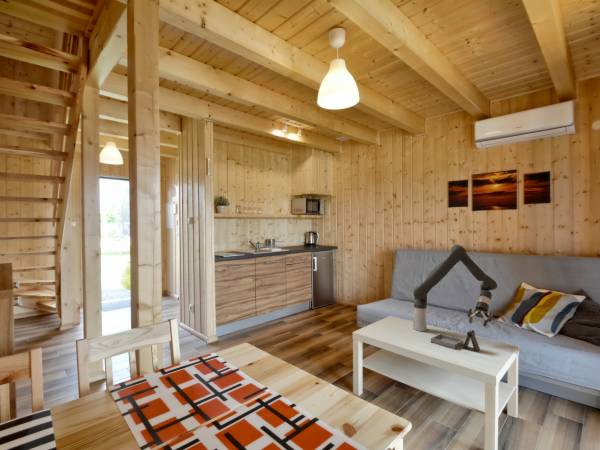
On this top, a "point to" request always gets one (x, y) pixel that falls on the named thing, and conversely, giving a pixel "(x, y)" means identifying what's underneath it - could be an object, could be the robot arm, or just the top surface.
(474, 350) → the phone stand
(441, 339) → the tray
